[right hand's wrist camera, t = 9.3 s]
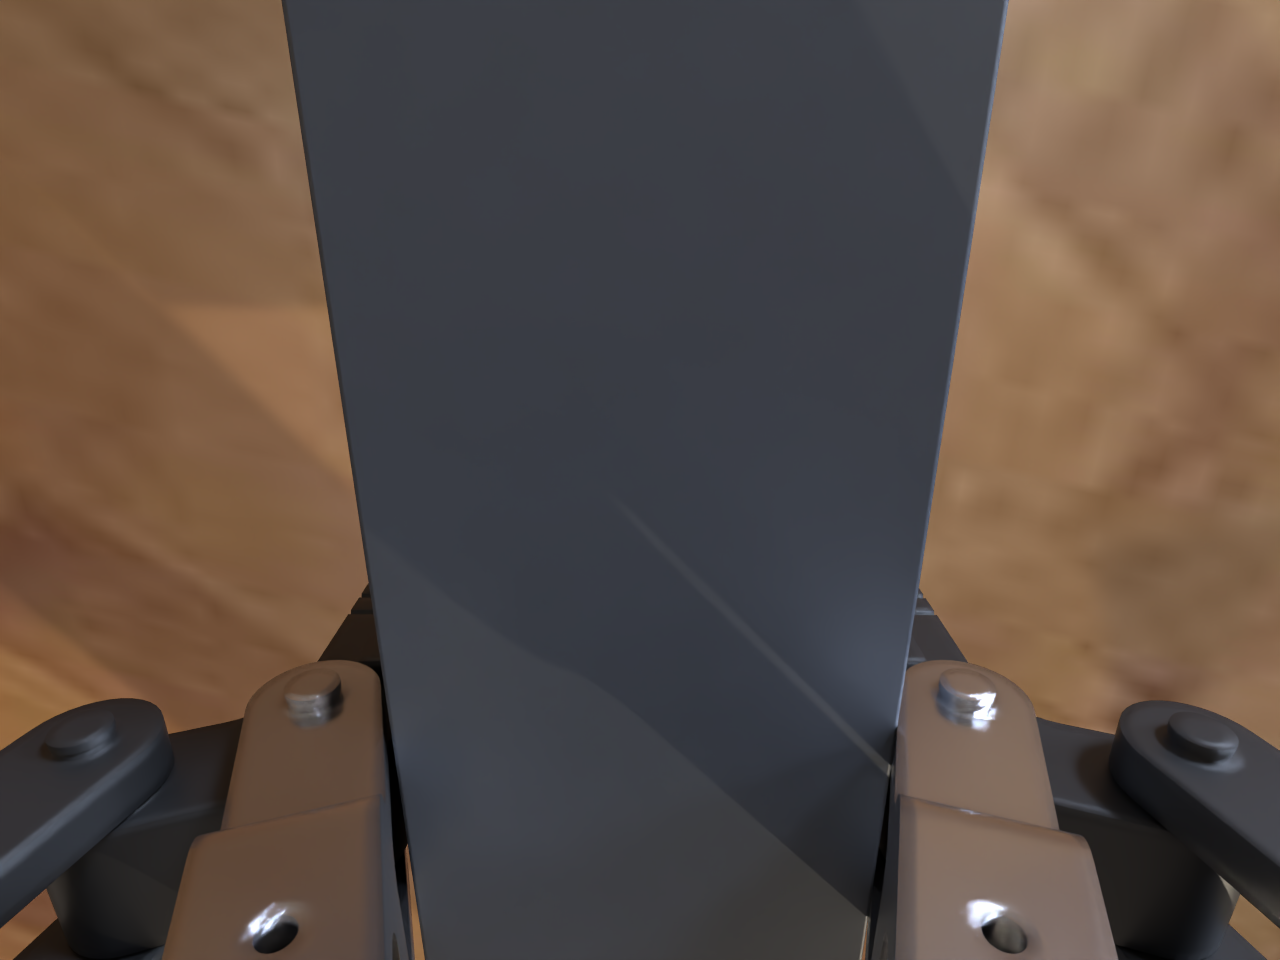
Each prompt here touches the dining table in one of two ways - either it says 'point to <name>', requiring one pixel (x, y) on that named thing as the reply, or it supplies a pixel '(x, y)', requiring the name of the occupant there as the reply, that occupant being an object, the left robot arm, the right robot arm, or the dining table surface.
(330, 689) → the right robot arm
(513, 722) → the bar
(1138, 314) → the dining table surface
